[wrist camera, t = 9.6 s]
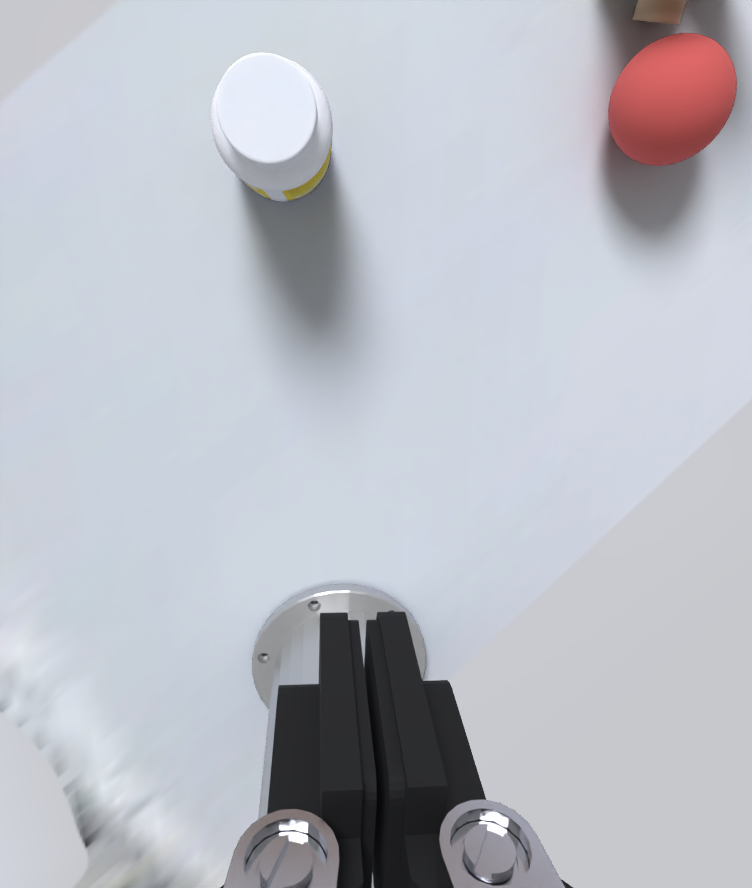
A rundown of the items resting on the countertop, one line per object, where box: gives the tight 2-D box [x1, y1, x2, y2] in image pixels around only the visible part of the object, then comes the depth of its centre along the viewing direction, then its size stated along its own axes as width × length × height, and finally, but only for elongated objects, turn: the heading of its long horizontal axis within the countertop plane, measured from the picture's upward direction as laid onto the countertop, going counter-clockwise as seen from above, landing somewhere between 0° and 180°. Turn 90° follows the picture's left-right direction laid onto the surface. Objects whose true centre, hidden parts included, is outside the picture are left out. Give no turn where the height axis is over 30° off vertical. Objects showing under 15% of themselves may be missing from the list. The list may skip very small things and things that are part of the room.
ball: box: [608, 33, 737, 166], centre depth 31 cm, size 6×6×6 cm
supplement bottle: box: [211, 53, 333, 202], centre depth 28 cm, size 5×5×10 cm
